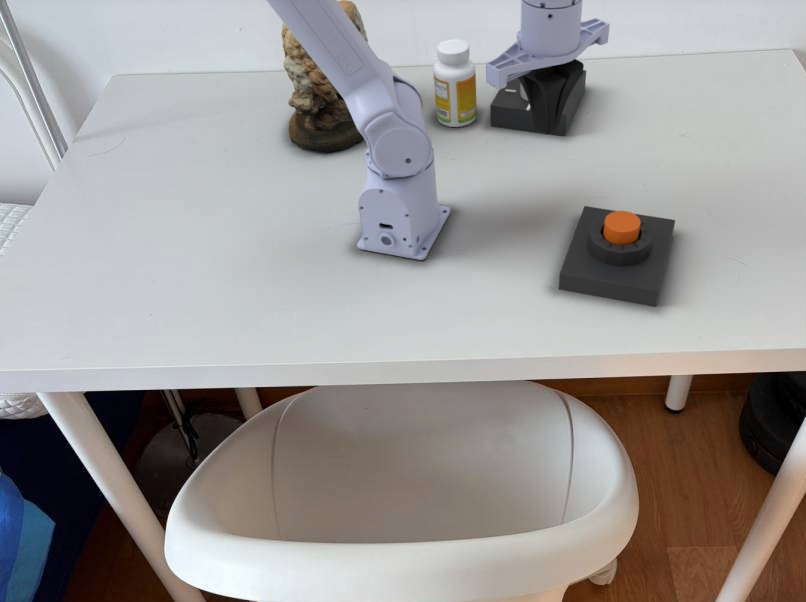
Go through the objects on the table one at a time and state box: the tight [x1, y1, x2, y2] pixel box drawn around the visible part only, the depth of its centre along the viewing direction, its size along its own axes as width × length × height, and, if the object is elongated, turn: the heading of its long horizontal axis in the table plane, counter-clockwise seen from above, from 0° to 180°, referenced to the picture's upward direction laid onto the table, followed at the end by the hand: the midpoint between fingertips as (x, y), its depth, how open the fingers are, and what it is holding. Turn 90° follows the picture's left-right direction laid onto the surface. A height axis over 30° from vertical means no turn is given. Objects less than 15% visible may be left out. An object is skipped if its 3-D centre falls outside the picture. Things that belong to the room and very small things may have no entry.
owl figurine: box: [280, 0, 370, 153], centre depth 99 cm, size 18×12×17 cm, turn 161°
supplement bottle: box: [432, 38, 478, 128], centre depth 102 cm, size 5×5×10 cm
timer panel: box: [489, 69, 587, 137], centre depth 105 cm, size 12×10×3 cm
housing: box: [558, 205, 676, 308], centre depth 83 cm, size 12×10×4 cm
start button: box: [603, 210, 640, 245], centre depth 81 cm, size 4×4×2 cm
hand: (545, 128), depth 83 cm, fingers closed
